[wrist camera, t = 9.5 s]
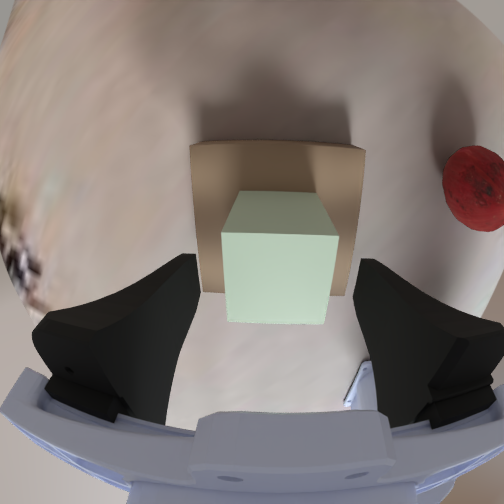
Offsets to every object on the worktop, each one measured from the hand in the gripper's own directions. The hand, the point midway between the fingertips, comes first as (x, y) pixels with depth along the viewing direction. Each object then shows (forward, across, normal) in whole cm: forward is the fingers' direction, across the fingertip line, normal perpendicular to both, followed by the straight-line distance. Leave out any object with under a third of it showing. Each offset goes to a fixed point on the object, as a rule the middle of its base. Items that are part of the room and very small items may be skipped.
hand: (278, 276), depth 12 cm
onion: (+9, -14, -4) cm, 17 cm away
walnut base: (+8, 0, 0) cm, 8 cm away
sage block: (+5, 0, 0) cm, 5 cm away
